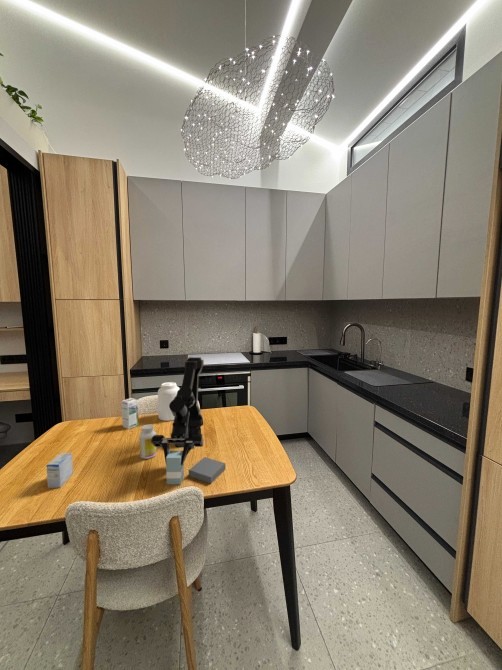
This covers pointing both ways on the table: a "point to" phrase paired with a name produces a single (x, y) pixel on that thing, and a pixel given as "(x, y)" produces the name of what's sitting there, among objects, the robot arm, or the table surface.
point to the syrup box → (129, 413)
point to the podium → (207, 470)
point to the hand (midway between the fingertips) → (174, 465)
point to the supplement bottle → (147, 442)
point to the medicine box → (59, 470)
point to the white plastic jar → (166, 400)
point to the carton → (174, 467)
